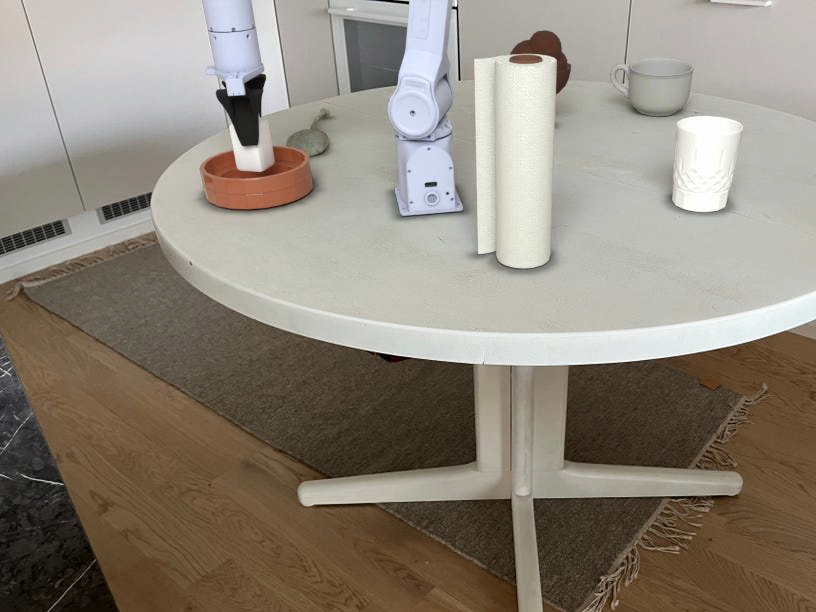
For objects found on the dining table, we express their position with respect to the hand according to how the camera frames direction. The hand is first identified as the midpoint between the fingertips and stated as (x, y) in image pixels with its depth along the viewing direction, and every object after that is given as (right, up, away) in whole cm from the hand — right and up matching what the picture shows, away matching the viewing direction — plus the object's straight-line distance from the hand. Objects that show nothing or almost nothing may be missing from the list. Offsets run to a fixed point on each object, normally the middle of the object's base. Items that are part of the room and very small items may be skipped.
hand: (251, 139), depth 104 cm
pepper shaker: (0, -3, +2) cm, 4 cm away
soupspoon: (+3, +8, +26) cm, 27 cm away
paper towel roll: (+34, -18, -15) cm, 42 cm away
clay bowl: (0, -6, +4) cm, 7 cm away
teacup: (+60, +14, +35) cm, 70 cm away
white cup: (+58, -9, -2) cm, 59 cm away
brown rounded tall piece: (+40, +10, +28) cm, 50 cm away
